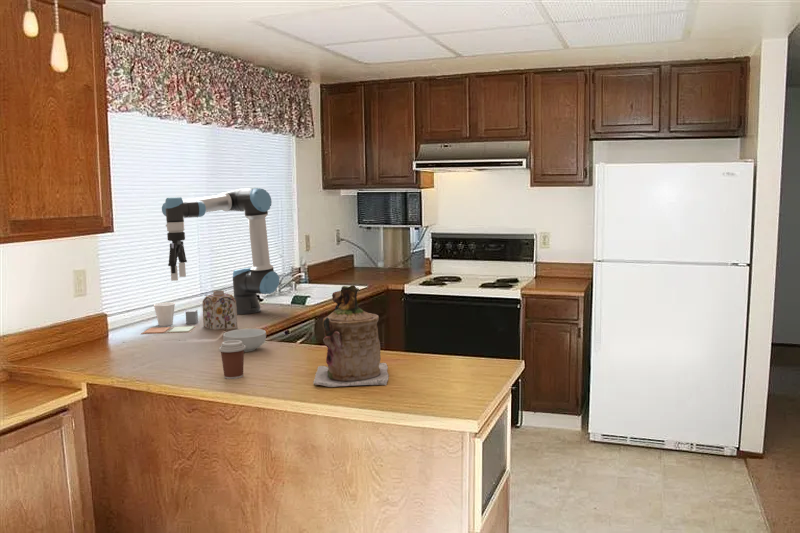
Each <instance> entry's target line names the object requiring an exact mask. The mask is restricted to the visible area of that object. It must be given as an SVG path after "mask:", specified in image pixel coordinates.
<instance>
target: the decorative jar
mask: <svg viewBox="0 0 800 533" xmlns="http://www.w3.org/2000/svg"><path fill="white" fill-rule="evenodd" d="M202 317H203V318H202V320H203V327H204V328H207V329H210V330H214V331H217V330H221V329H222V330H223V329H224V330H223V331H224V332H225V330H227V331H232V330H237V329H238V314H237V309H236V300H235V299H234V295H233V294H231V293H225V291H224V290H222V289H218V290H214V291H213V294H208V295H206V296H205V297H204V299H203V300H202ZM231 329H232V330H231Z"/></svg>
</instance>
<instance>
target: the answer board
mask: <svg viewBox="0 0 800 533" xmlns="http://www.w3.org/2000/svg"><path fill="white" fill-rule="evenodd" d="M194 326H195V325H194ZM170 327H171V326H170ZM174 327H175V326H172V327H171V328H170V329H168V330H167V331H166V332H164V333H144V332H145V331H147V330H148V329H150V328H151V327H149V328H147V329H146V330H144V331H143V332H141V333H140V335H157V334H187V333H192V332H193V331H194V330H195V329H197V328H198V326H195V327H194V328H193V329H192V330H191V331H189V332H170V333H168V332H169V331H170V330H171V329H173V328H174Z"/></svg>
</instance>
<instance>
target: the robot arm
mask: <svg viewBox="0 0 800 533" xmlns="http://www.w3.org/2000/svg"><path fill="white" fill-rule="evenodd" d="M271 207H272V197H271V195H270V193H269V192H268V191H267V190H266V189H264V188H258V187H254V188H252V187H250V188H239V189H235V190H230V191H225V192H224V191H223V192H221V193H219V194H217V195H210V196H203V197H195V198H187V199H183V197H182V196H176V197H170V196H169V197H166V198H165V201H164V203H163V204H162V206H161V213H162V214H163V215H164V216H165V218H166V220H165V221H166V224H165V227H166V230H167V232H166V233H167V234H166V235H167V241H169V242H171V243H169V254H168V255H169V256H168V263H167V266H168V267H170V277H171V278H170V281H171V282H172V281H174V282H175V281H176V282H177V281H178V280H179V278H185V277H187V275H186V274H187V273H186V263H188V260H187V256H186V251H185V246H184V241H185V240H186V234H185V232H184V231H185V228H186V227H185V219H186V218H202V217H203V216H205V214H206V213H210V212H219V211H224V212H243V214H244V217H246V218H247V222H248V223H247V224H248V230H249V239H250V240H249V242H250V248H251V249H250V250H251V257H252V258H251V259H252V266H251V267H247V268H246V267H245V268H240V269H235V270H233V271H232V287H233V297H234V299H235V300H236V309H237V315H247V314H248V315H249V314H255V313H260V312H261V305H260V302H259V300H258V297H257V294H262V295H271V294H273V293H275V292H276V291H277V289H278V287H279V285H280V276H279V274H278V273H277V272H276V271H274V266H273V265H272V264H271V263H270V262H271V261H270V260H271V259H270V252H269V251H270V250H269V242H268V232H267V231H268V230H267V221H266V220H267V219H266V217H267V216H268V214H269V210H270V209H271ZM177 263H178V265H177ZM178 271H179V272H178ZM178 274H179V275H178Z"/></svg>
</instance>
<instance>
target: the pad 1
mask: <svg viewBox="0 0 800 533" xmlns="http://www.w3.org/2000/svg"><path fill="white" fill-rule="evenodd" d="M149 328H150V329H149ZM149 328H147V329H148V330H147V329H146V330H147V331H146V330H144V331H145V332H144V331H143V332H144V333H163V334H165V333H164V332H166V331H167V330H168V329H170V328H171V326H167V327H166V326H161V327H160V326H159V327H149Z"/></svg>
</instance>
